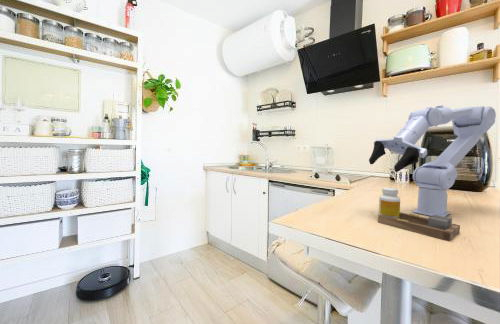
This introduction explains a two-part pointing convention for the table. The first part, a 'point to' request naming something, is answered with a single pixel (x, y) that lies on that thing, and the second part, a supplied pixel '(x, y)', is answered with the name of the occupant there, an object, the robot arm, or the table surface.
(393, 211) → the supplement bottle
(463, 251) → the table surface
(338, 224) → the table surface
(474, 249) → the table surface
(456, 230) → the beam
